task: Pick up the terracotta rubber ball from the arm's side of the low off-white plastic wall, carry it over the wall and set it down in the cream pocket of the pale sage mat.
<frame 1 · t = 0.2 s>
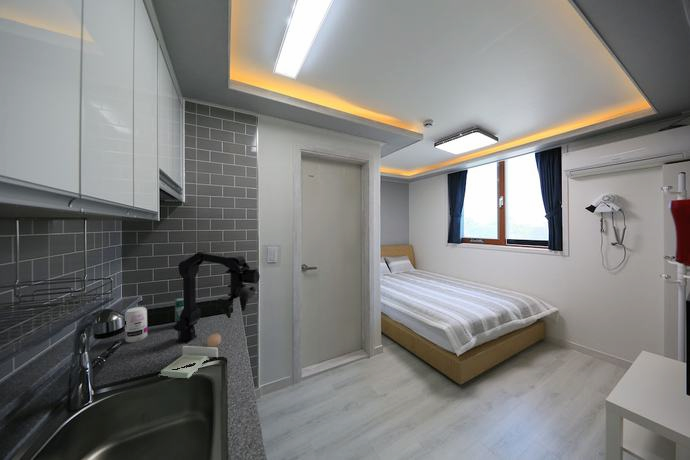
hand: (236, 314, 112), 14 cm above the counter, tool pointing down, fingers open, 9 cm apart
ball: (214, 346, 108), on the counter
sage mat: (185, 367, 93), on the counter
supplement can: (136, 339, 115), on the counter
can: (182, 325, 131), on the counter
low wall: (199, 356, 101), on the counter
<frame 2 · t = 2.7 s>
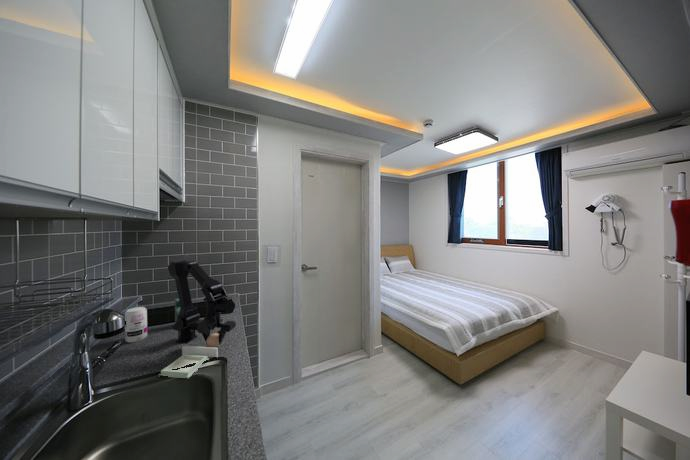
hand: (214, 343, 108), 2 cm above the counter, tool pointing down, fingers closed on ball, 6 cm apart
ball: (214, 346, 108), on the counter, touching gripper
everything else where it was.
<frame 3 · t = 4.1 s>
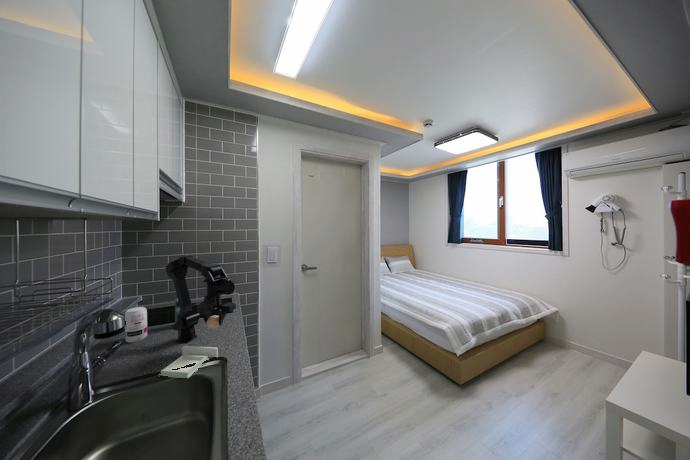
hand: (214, 325, 108), 10 cm above the counter, tool pointing down, fingers closed on ball, 6 cm apart
ball: (214, 328, 108), point 9 cm above the counter, touching gripper
everything else where it was.
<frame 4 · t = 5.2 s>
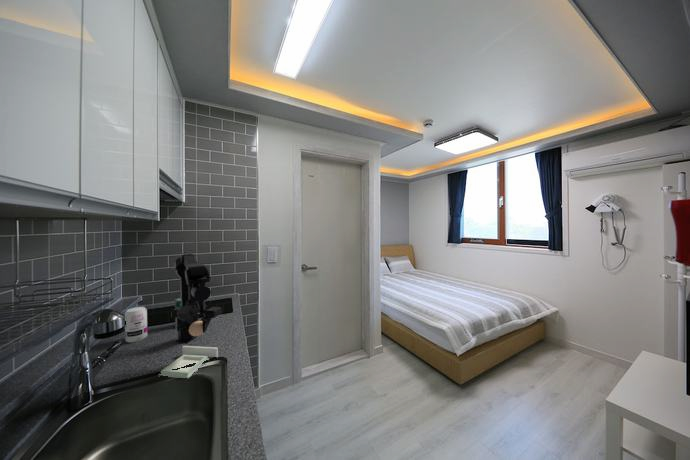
hand: (197, 331, 98), 12 cm above the counter, tool pointing down, fingers closed on ball, 6 cm apart
ball: (197, 335, 98), point 10 cm above the counter, touching gripper
everything else where it was.
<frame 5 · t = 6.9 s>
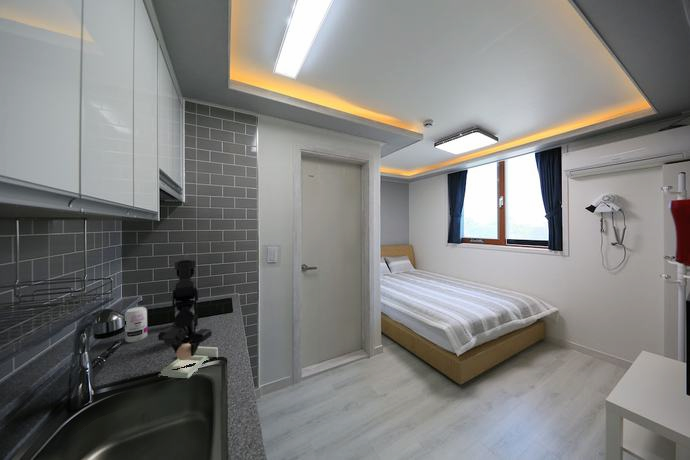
hand: (185, 355, 93), 5 cm above the counter, tool pointing down, fingers closed on ball, 6 cm apart
ball: (185, 359, 93), point 3 cm above the counter, touching gripper
everything else where it was.
when the fingers open (4 cm above the counter, at t = 8.1 s): ball drops 1 cm, resting on sage mat.
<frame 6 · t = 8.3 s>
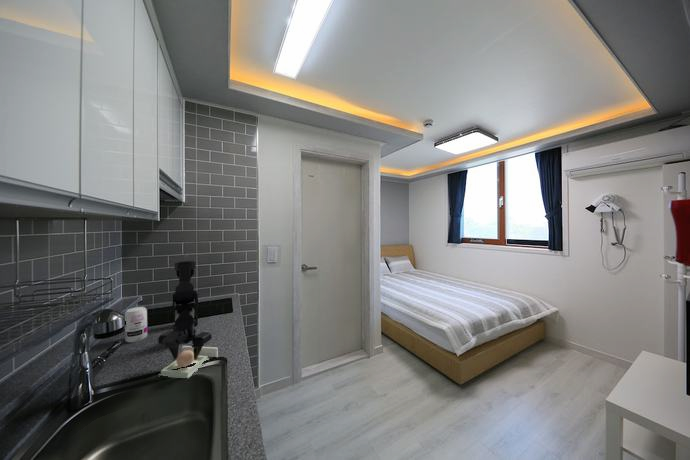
hand: (185, 358, 93), 4 cm above the counter, tool pointing down, fingers open, 8 cm apart
ball: (185, 365, 93), point 1 cm above the counter, touching sage mat
everything else where it was.
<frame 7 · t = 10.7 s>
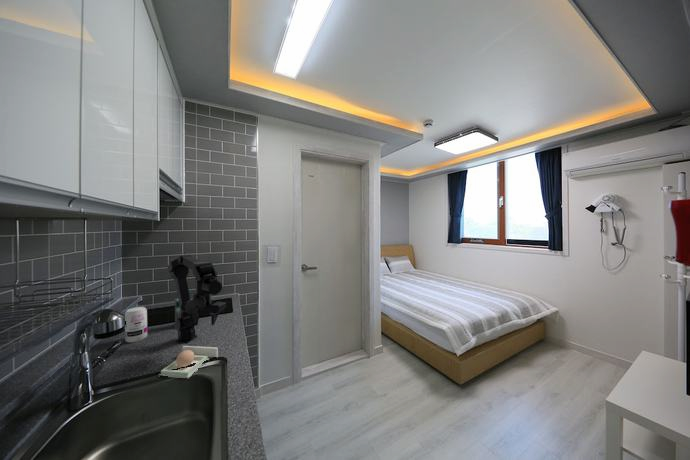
hand: (203, 324, 106), 12 cm above the counter, tool pointing down, fingers open, 9 cm apart
nothing on the counter moved.
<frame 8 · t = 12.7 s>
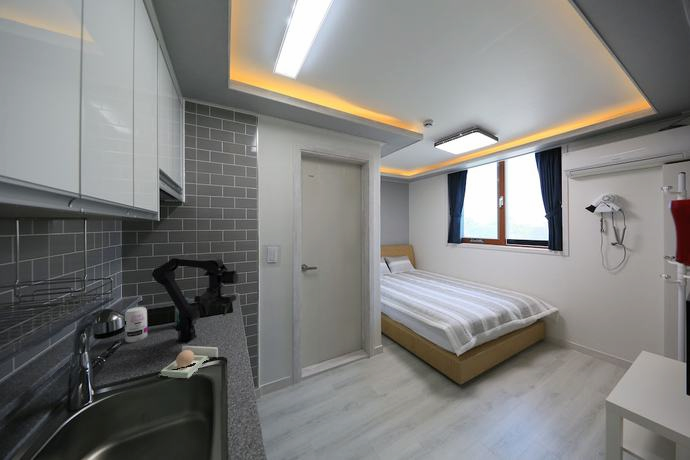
hand: (215, 315, 115), 12 cm above the counter, tool pointing down, fingers open, 9 cm apart
nothing on the counter moved.
at the end: ball 0.0 cm off-centre on the sage mat, point 0.7 cm above the sage mat's base; ball touching sage mat; the gripper is holding nothing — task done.
